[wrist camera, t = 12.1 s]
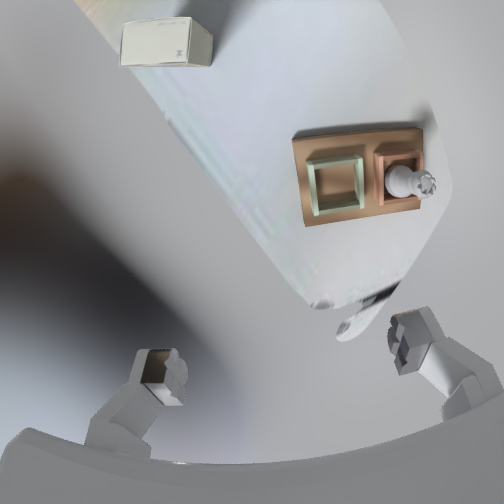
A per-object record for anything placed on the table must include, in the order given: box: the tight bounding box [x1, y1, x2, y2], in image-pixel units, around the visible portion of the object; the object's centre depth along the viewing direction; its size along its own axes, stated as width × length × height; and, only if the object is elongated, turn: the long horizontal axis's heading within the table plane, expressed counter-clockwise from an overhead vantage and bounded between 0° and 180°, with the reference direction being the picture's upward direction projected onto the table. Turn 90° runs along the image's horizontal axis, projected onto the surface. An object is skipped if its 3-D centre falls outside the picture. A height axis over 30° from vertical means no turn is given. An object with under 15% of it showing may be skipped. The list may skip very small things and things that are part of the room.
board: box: [292, 128, 424, 227], centre depth 34 cm, size 12×18×4 cm, turn 102°
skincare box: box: [119, 17, 214, 67], centre depth 22 cm, size 6×4×12 cm
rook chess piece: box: [385, 164, 436, 199], centre depth 30 cm, size 4×4×8 cm
